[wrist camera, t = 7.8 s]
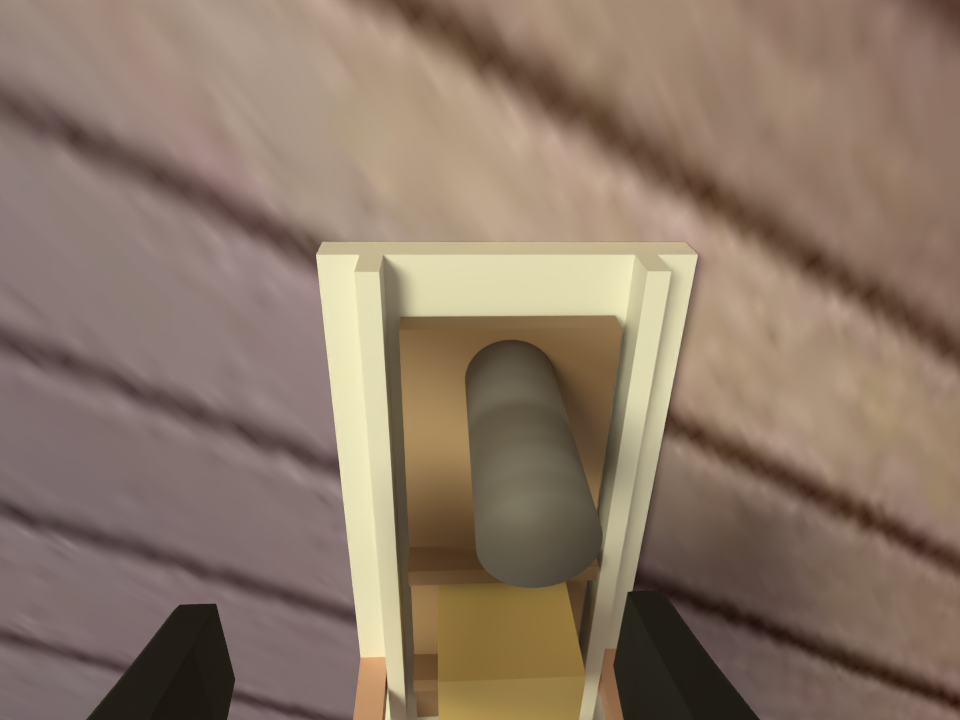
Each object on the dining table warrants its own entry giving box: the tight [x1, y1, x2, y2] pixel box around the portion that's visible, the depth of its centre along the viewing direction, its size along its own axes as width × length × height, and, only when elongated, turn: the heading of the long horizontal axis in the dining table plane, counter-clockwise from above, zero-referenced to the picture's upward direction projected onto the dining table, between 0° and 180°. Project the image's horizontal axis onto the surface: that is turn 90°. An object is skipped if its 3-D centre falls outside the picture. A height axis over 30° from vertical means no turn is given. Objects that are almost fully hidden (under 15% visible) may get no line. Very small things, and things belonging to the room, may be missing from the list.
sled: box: [399, 315, 622, 717], centre depth 18 cm, size 16×6×7 cm, turn 179°
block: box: [438, 582, 586, 720], centre depth 20 cm, size 4×4×4 cm
